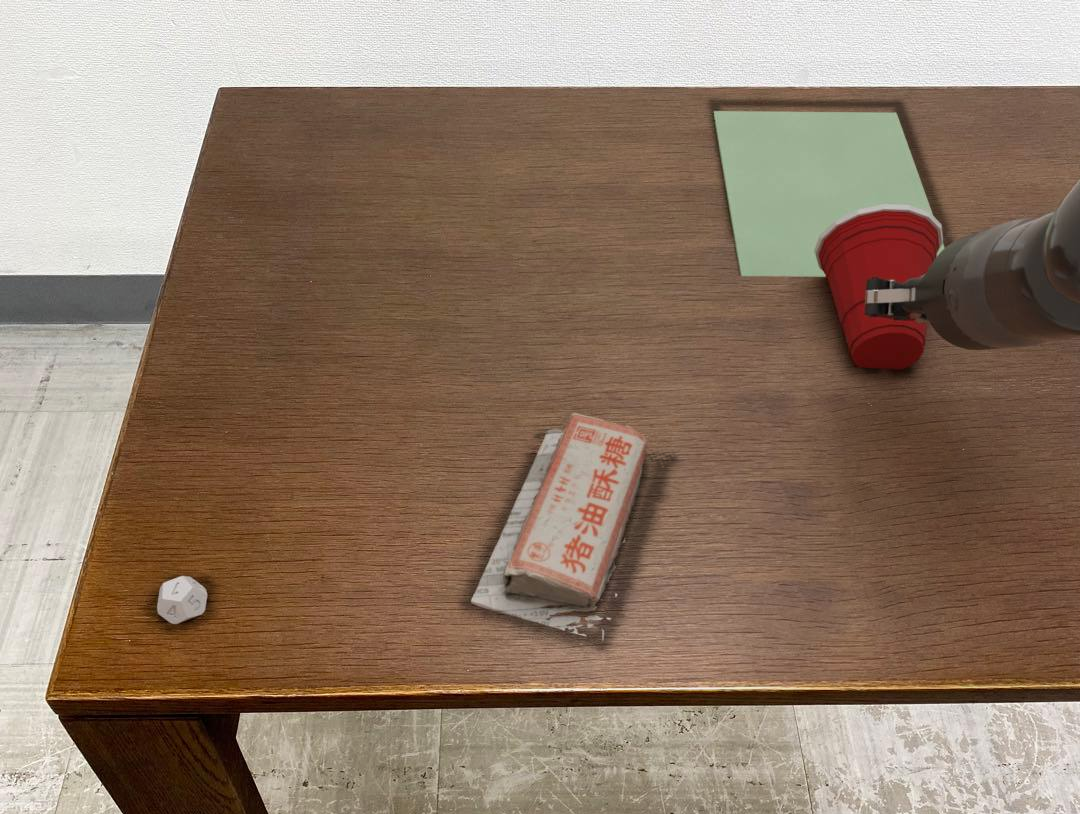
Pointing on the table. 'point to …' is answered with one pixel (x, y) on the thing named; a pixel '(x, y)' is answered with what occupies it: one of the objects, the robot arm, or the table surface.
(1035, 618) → the table surface
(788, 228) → the mat
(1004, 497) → the table surface
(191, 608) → the game die
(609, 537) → the packaged product
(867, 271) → the plastic cup
